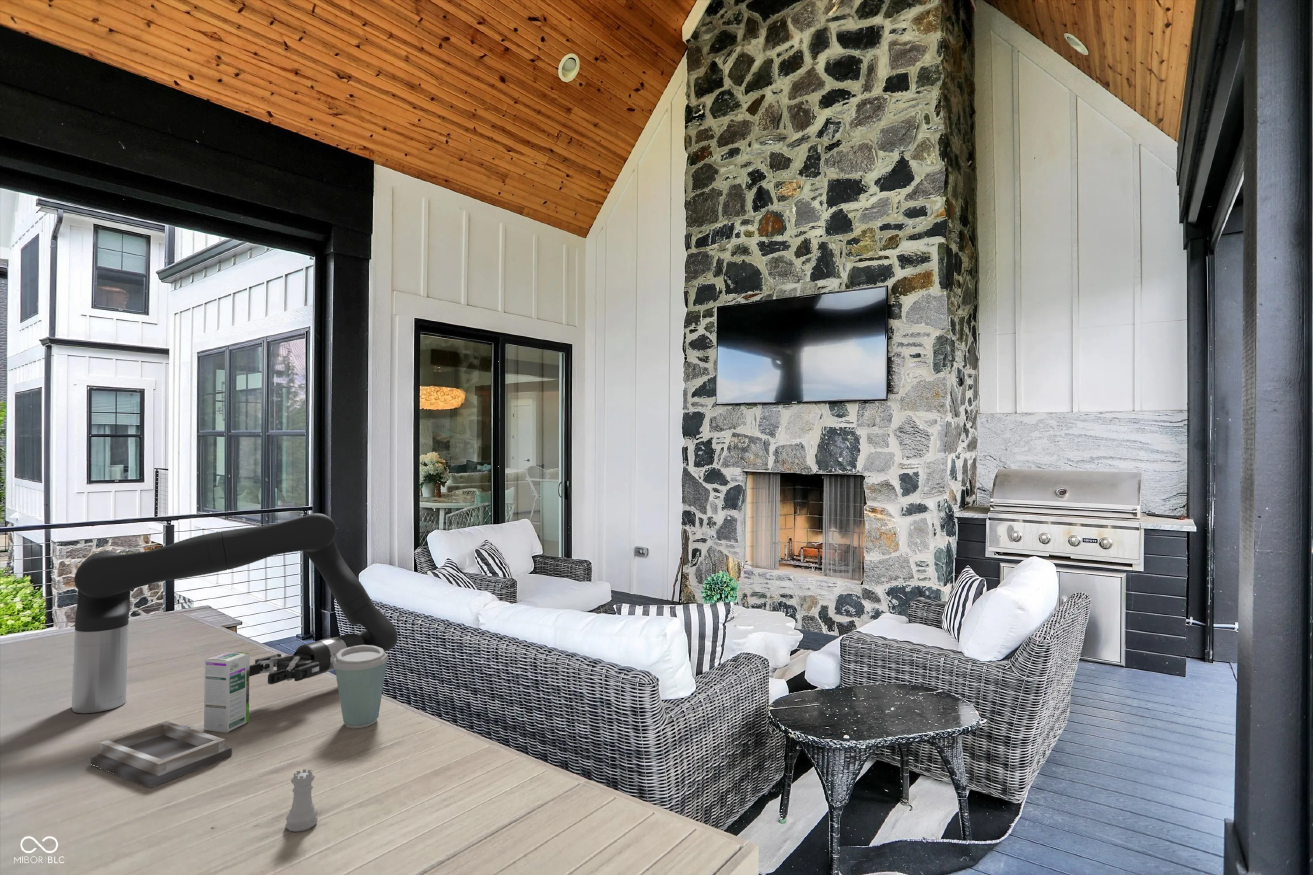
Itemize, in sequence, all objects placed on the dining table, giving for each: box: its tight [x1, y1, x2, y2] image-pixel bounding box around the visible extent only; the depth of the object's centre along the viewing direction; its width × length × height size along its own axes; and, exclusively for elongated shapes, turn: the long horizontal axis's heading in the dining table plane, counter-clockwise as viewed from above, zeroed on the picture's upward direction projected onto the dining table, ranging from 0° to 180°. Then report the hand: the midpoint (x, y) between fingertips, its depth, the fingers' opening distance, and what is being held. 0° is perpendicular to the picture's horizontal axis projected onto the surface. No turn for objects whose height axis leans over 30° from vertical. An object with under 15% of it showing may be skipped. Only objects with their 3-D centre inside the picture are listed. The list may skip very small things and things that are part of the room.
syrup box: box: [203, 651, 251, 734], centre depth 144 cm, size 6×6×14 cm
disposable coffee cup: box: [333, 645, 389, 729], centre depth 147 cm, size 11×11×15 cm
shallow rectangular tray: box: [90, 720, 233, 789], centre depth 128 cm, size 18×14×4 cm
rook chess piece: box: [285, 768, 319, 833], centre depth 107 cm, size 4×4×8 cm
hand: (255, 676), depth 149 cm, fingers open, 8 cm apart
